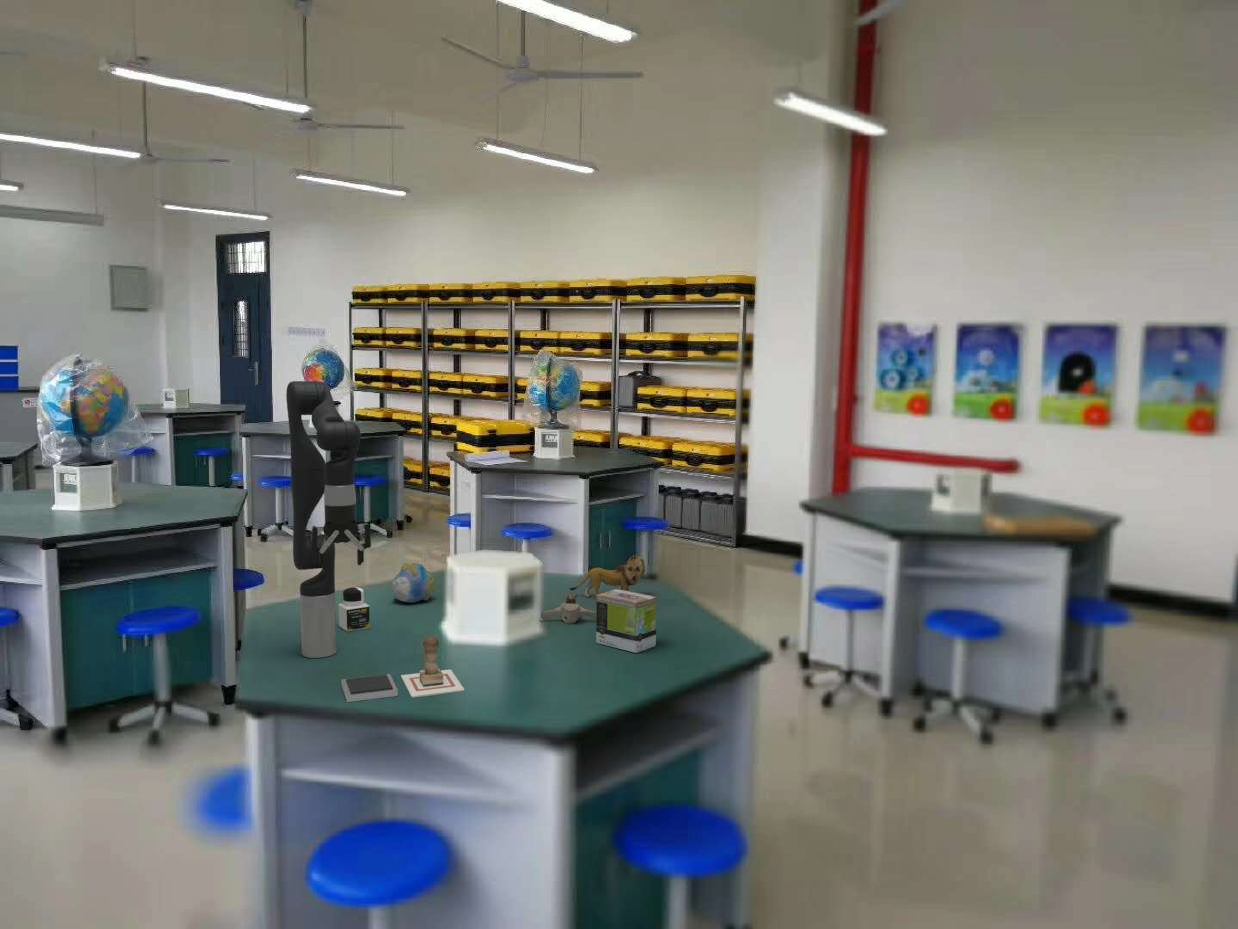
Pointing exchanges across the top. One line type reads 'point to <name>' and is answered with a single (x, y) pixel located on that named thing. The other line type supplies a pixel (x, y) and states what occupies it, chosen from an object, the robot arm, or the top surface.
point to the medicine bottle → (353, 610)
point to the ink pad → (369, 688)
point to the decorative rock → (413, 583)
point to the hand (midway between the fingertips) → (341, 566)
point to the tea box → (626, 620)
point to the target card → (418, 690)
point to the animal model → (615, 576)
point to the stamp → (431, 664)
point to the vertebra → (569, 610)
